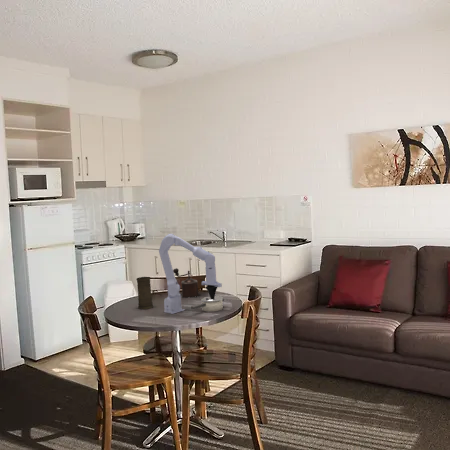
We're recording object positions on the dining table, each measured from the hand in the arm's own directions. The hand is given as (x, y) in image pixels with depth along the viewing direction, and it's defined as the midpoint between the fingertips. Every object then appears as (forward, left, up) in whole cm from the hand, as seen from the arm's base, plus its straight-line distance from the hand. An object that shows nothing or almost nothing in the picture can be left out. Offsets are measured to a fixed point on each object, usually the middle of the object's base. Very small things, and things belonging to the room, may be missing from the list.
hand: (212, 298), depth 280 cm
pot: (-3, +1, -6) cm, 7 cm away
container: (-19, +39, -6) cm, 43 cm away
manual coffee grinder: (+15, +41, -6) cm, 44 cm away
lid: (0, 0, -1) cm, 1 cm away
